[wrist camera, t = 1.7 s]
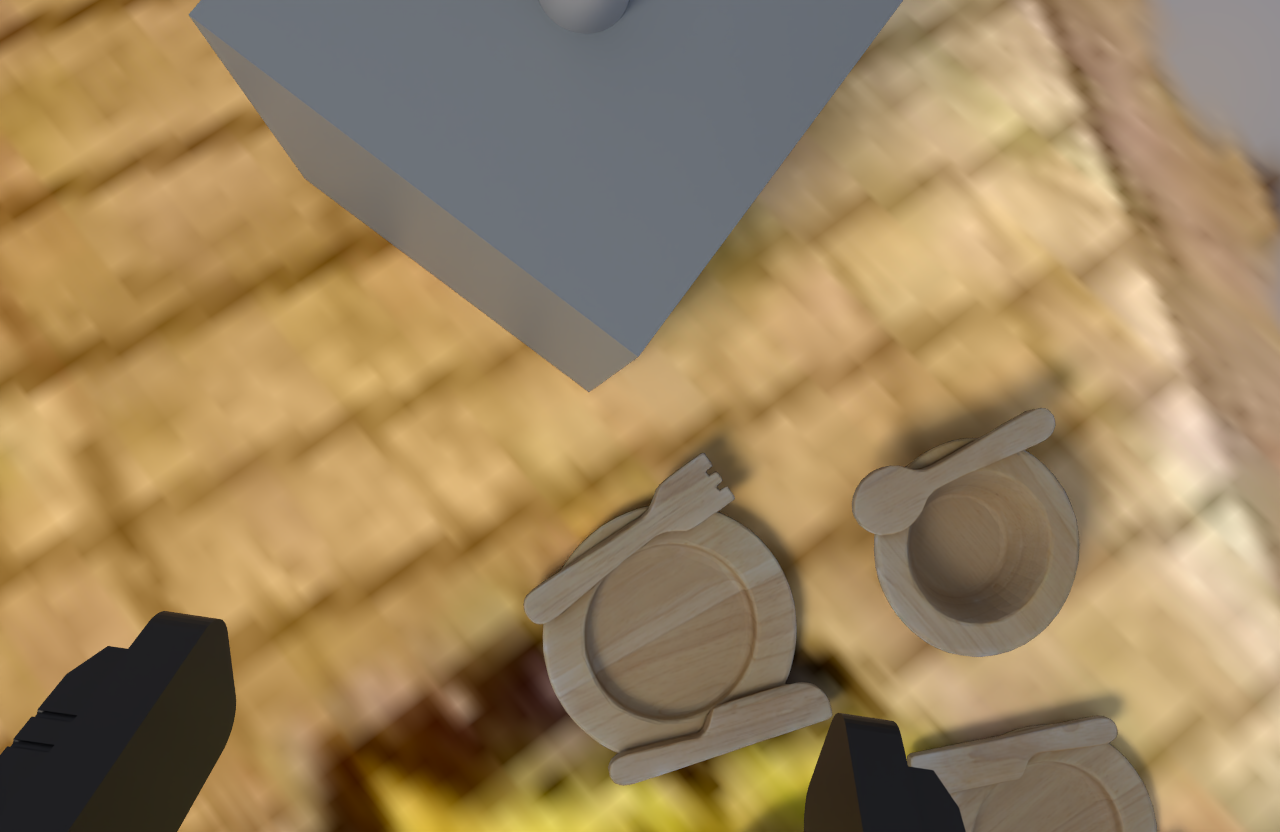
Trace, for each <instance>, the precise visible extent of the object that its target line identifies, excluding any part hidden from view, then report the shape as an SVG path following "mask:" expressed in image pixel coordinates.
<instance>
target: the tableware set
mask: <svg viewBox="0 0 1280 832" xmlns="http://www.w3.org/2000/svg"><path fill="white" fill-rule="evenodd" d="M1054 428H1055V419H1054V416H1053V414H1052V413H1051V412H1050V411H1049V410H1048V409H1046V408H1038V409H1033V410H1029V411H1025V412H1023V413H1022V414H1020V415H1018V416H1016V417H1014V418H1013V419H1011V420H1009V421H1007V422H1005V423H1004V424H1002V425H1000V426H999V427H997V428H995V429H994V430H992V431H990V432H989V433H987V434H985V435H984V436H982V437H980V438H966V439H958V440H953V441H950V442H947V443H943V444H941V445H939V446H937V447H934V448H932V449H930V450H929V451H927V452H925V453H924V454H922V455H920V456H919V457H917V458H916V459H915V460H914V461H913V462H911V463H910V464H909V465H908V466H906V467H903V466H887V467H881V468H879V469H876V470H874V471H872V472H871V473H869V474H868V475H867V476H866V477H865V478H863V479H862V480H861V482H860V484H859V485H858V487H857V488H856V490H855V493H854V495H853V499H852V512H853V515H854V517H855V519H856V521H857V522H858V524H859V525H860V526H861V527H863V528H864V529H865V530H867V531H869V532H871V533H874V556H875V566H876V571H877V575H878V579H879V582H880V585H881V587H882V590H883V592H884V594H885V596H886V598H887V600H888V602H889V604H890V605H891V607H892V609H893V610H894V611H895V613H896V614H897V616H898V617H899V618H900V619H901V620H902V621H903V623H904V624H905V625H906V626H907V627H908V628H909V629H910V630H911V631H912V632H914V633H915V634H916V635H917V636H919V637H920V638H921V639H922V640H924V641H925V642H927V643H929V644H931V645H932V646H934V647H936V648H938V649H940V650H943V651H946V652H948V653H953V654H958V655H963V656H972V657H983V656H991V655H997V654H1001V653H1005V652H1009V651H1011V650H1013V649H1015V648H1018V647H1020V646H1022V645H1024V644H1026V643H1027V642H1029V641H1030V640H1032V639H1033V638H1035V637H1036V636H1037V635H1038V634H1040V633H1041V632H1042V631H1043V630H1044V629H1045V628H1046V627H1047V626H1048V625H1049V624H1050V623H1051V622H1052V620H1053V619H1054V618H1055V617H1056V615H1057V614H1058V613H1059V611H1060V610H1061V608H1062V606H1063V604H1064V603H1065V601H1066V599H1067V597H1068V595H1069V592H1070V590H1071V587H1072V584H1073V581H1074V578H1075V574H1076V569H1077V565H1078V560H1079V532H1078V526H1077V520H1076V517H1075V514H1074V511H1073V508H1072V505H1071V503H1070V501H1069V499H1068V496H1067V494H1066V492H1065V490H1064V489H1063V487H1062V486H1061V485H1060V483H1059V482H1058V480H1057V479H1056V477H1055V476H1054V475H1053V474H1052V473H1051V472H1050V470H1049V469H1048V468H1047V467H1046V466H1045V465H1044V464H1043V463H1042V462H1040V461H1039V460H1038V459H1037V458H1036V457H1034V456H1033V455H1032V454H1030V453H1029V452H1027V451H1025V449H1027V448H1029V447H1032V446H1034V445H1036V444H1038V443H1040V442H1042V441H1044V440H1046V439H1047V438H1048V437H1049V436H1050V435H1051V434H1052V432H1053V431H1054ZM711 467H712V464H711V462H710V460H709V459H708V458H707V456H706V455H705V453H701V454H700V455H698V456H697V457H695V458H694V459H692V460H691V461H690V462H688V463H687V464H686V465H684V466H683V467H681V468H680V469H679V470H677V471H676V472H675V473H673V474H672V475H671V476H669V477H668V478H667V479H666V480H664V481H663V482H662V483H661V484H660V485H659V486H658V487H657V489H656V491H655V494H654V497H653V499H652V502H651V504H650V506H647V507H642V508H639V509H636V510H633V511H630V512H628V513H625V514H623V515H621V516H618V517H616V518H615V519H613V520H611V521H609V522H608V523H606V524H604V525H603V526H601V527H600V528H599V529H597V530H596V531H595V532H593V533H592V534H591V535H590V536H589V537H588V538H586V539H585V540H584V541H583V542H582V543H581V544H580V545H579V546H578V547H577V548H576V550H575V551H574V552H573V554H572V555H571V556H570V557H569V559H568V560H567V562H566V563H565V565H564V566H563V568H562V570H561V571H559V572H558V573H556V574H555V575H553V576H552V577H550V578H549V579H547V580H545V581H544V582H542V583H541V584H540V585H538V586H537V587H535V588H534V589H533V590H532V591H531V592H530V593H529V594H527V595H526V597H525V600H524V610H525V613H526V615H527V617H528V618H529V619H530V620H531V621H532V622H534V623H537V624H543V652H544V658H545V663H546V667H547V672H548V676H549V679H550V682H551V685H552V687H553V689H554V692H555V694H556V696H557V697H558V699H559V701H560V702H561V704H562V706H563V707H564V709H565V710H566V712H567V713H568V714H569V715H570V717H571V718H572V719H573V721H574V722H575V723H576V724H577V725H578V726H579V727H580V728H581V729H582V730H583V731H584V732H586V733H587V734H588V735H589V736H590V737H592V738H593V739H594V740H595V741H597V742H598V743H600V744H601V745H603V746H605V747H607V748H608V749H610V750H612V751H614V752H617V753H618V754H616V755H615V756H614V757H613V758H612V759H611V761H610V763H609V766H608V769H609V774H610V777H611V779H612V780H613V781H614V783H616V784H619V785H630V784H634V783H637V782H640V781H644V780H647V779H650V778H653V777H656V776H659V775H662V774H665V773H668V772H671V771H674V770H677V769H680V768H683V767H686V766H689V765H692V764H695V763H698V762H701V761H704V760H707V759H710V758H713V757H716V756H719V755H722V754H725V753H728V752H731V751H734V750H737V749H740V748H743V747H746V746H749V745H752V744H755V743H758V742H761V741H764V740H767V739H770V738H773V737H776V736H779V735H782V734H785V733H788V732H791V731H794V730H797V729H801V728H804V727H807V726H810V725H813V724H816V723H818V722H821V721H824V720H827V719H829V718H830V717H831V716H832V709H831V705H830V701H829V700H828V698H827V696H826V694H825V693H824V692H823V691H822V690H821V689H820V688H818V687H817V686H816V685H814V684H811V683H806V682H798V683H793V684H785V683H786V680H787V678H788V675H789V673H790V669H791V665H792V662H793V657H794V651H795V645H796V634H797V633H796V613H795V605H794V600H793V596H792V593H791V589H790V586H789V584H788V581H787V579H786V577H785V574H784V572H783V570H782V568H781V566H780V565H779V563H778V561H777V559H776V558H775V557H774V555H773V554H772V552H771V551H770V550H769V549H768V548H767V546H766V545H765V544H764V543H763V542H762V541H761V540H760V538H759V537H757V536H756V535H755V534H754V533H753V532H752V531H751V530H749V529H748V528H746V527H745V526H744V525H742V524H741V523H739V522H737V521H736V520H734V519H732V518H730V517H728V516H726V515H724V514H722V513H720V512H718V511H719V510H721V509H722V508H723V507H725V506H726V505H728V504H729V503H730V502H731V501H733V500H734V499H735V498H734V495H733V494H732V492H731V491H730V489H729V488H728V487H725V488H723V489H721V490H719V489H718V488H717V486H718V484H720V483H721V482H722V481H723V480H722V478H721V476H720V475H719V474H718V472H714V473H712V474H710V475H708V474H707V470H708V469H709V468H711ZM1116 737H1117V727H1116V725H1115V723H1114V722H1113V721H1112V720H1111V719H1109V718H1106V717H1104V716H1092V717H1087V718H1082V719H1077V720H1072V721H1067V722H1063V723H1058V724H1053V725H1037V726H1029V727H1024V728H1020V729H1017V730H1013V731H1011V732H1008V733H1006V734H1004V735H1002V736H996V737H991V738H986V739H981V740H976V741H971V742H965V743H960V744H955V745H950V746H945V747H940V748H935V749H930V750H924V751H919V752H914V753H910V754H909V755H908V756H907V762H908V766H909V767H916V768H923V769H929V770H934V772H935V773H936V775H937V776H938V778H939V779H940V780H941V782H942V783H943V785H944V786H945V788H946V789H947V791H948V792H949V794H950V795H951V797H952V798H953V800H954V801H955V802H956V804H957V805H958V807H959V809H960V813H961V816H962V820H963V823H964V827H965V831H966V832H1157V825H1156V819H1155V814H1154V810H1153V805H1152V802H1151V800H1150V797H1149V794H1148V792H1147V789H1146V787H1145V785H1144V783H1143V781H1142V780H1141V778H1140V776H1139V775H1138V773H1137V772H1136V770H1135V769H1134V767H1133V766H1132V765H1131V764H1130V762H1129V761H1128V760H1127V759H1126V758H1125V757H1124V756H1123V755H1122V754H1121V753H1120V752H1119V751H1118V750H1117V749H1116V748H1115V747H1114V746H1112V745H1111V744H1109V743H1110V742H1111V741H1113V740H1114V739H1115V738H1116Z"/></svg>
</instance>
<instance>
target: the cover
mask: <svg viewBox="0 0 1280 832" xmlns="http://www.w3.org/2000/svg"><path fill="white" fill-rule="evenodd" d="M902 1H903V0H201V1H200V2H199V3H198V4H197V6H196V7H195V8H194V9H193V10H192V11H191V12H190V14H189V16H190V18H191V19H192V20H193V22H194V23H195V25H196V26H197V27H198V29H199V30H200V32H201V33H202V35H203V36H204V37H205V39H206V40H207V42H208V43H209V44H210V46H211V47H212V49H213V50H214V51H215V53H216V54H217V56H218V57H219V58H220V60H221V61H222V63H223V64H224V65H225V67H226V68H227V70H228V71H229V73H230V74H231V75H232V77H233V78H234V80H235V81H236V82H237V84H238V85H239V87H240V88H241V89H242V91H243V92H244V94H245V95H246V96H247V98H248V99H249V101H250V102H251V103H252V105H253V106H254V108H255V109H256V111H257V112H258V113H259V115H260V116H261V118H262V119H263V120H264V122H265V123H266V125H267V126H268V127H269V129H270V130H271V132H272V133H273V134H274V136H275V137H276V139H277V140H278V142H279V143H280V144H281V146H282V147H283V149H284V150H285V151H286V153H287V154H288V156H289V157H290V158H291V160H292V161H293V163H294V164H295V165H296V167H297V168H298V170H299V171H300V172H301V174H302V175H303V177H304V178H305V179H306V180H307V181H309V182H310V183H311V184H313V185H314V186H315V187H317V188H318V189H319V190H321V191H322V192H323V193H325V194H326V195H327V196H329V197H330V198H331V199H333V200H334V201H335V202H337V203H338V204H339V205H341V206H342V207H343V208H345V209H346V210H347V211H349V212H350V213H351V214H353V215H354V216H355V217H357V218H358V219H359V220H361V221H362V222H363V223H365V224H366V225H367V226H369V227H370V228H371V229H373V230H374V231H375V232H377V233H378V234H379V235H381V236H382V237H383V238H385V239H386V240H387V241H389V242H390V243H391V244H393V245H394V246H395V247H397V248H398V249H399V250H401V251H402V252H403V253H405V254H406V255H407V256H409V257H410V258H411V259H413V260H414V261H415V262H417V263H418V264H419V265H421V266H422V267H423V268H425V269H426V270H427V271H429V272H430V273H431V274H432V275H434V276H435V277H436V278H438V279H439V280H440V281H442V282H443V283H444V284H446V285H447V286H448V287H450V288H451V289H452V290H454V291H455V292H456V293H458V294H459V295H460V296H462V297H463V298H464V299H466V300H467V301H468V302H470V303H471V304H472V305H474V306H475V307H476V308H478V309H479V310H480V311H482V312H483V313H484V314H486V315H487V316H488V317H490V318H491V319H492V320H494V321H495V322H496V323H498V324H499V325H500V326H502V327H503V328H504V329H506V330H507V331H508V332H510V333H511V334H512V335H514V336H515V337H516V338H518V339H519V340H520V341H522V342H523V343H524V344H526V345H527V346H528V347H530V348H531V349H532V350H534V351H535V352H536V353H538V354H539V355H540V356H542V357H543V358H544V359H546V360H547V361H548V362H550V363H551V364H552V365H554V366H555V367H556V368H558V369H559V370H560V371H562V372H563V373H564V374H566V375H567V376H568V377H570V378H571V379H572V380H573V381H575V382H576V383H577V384H579V385H580V386H581V387H583V388H584V389H585V390H587V391H588V392H590V391H591V390H593V389H594V388H596V387H597V386H598V385H600V384H601V383H603V382H604V381H605V380H607V379H608V378H610V377H611V376H612V375H614V374H615V373H617V372H618V371H619V370H621V369H622V368H624V367H625V366H626V365H628V364H629V363H631V362H632V361H633V360H635V359H636V358H637V357H639V355H640V354H641V352H642V351H643V350H644V348H645V347H646V346H647V344H648V343H649V342H650V340H651V339H652V338H653V336H654V335H655V334H656V332H657V331H658V330H659V328H660V327H661V326H662V324H663V323H664V322H665V320H666V319H667V317H668V316H669V315H670V313H671V312H672V311H673V309H674V308H675V307H676V305H677V304H678V303H679V301H680V300H681V299H682V297H683V296H684V295H685V293H686V292H687V291H688V289H689V288H690V287H691V285H692V284H693V282H694V281H695V280H696V278H697V277H698V276H699V274H700V273H701V272H702V270H703V269H704V268H705V266H706V265H707V264H708V262H709V261H710V260H711V258H712V257H713V256H714V254H715V253H716V252H717V250H718V249H719V247H720V246H721V245H722V243H723V242H724V241H725V239H726V238H727V237H728V235H729V234H730V233H731V231H732V230H733V229H734V227H735V226H736V225H737V223H738V222H739V221H740V219H741V218H742V217H743V215H744V214H745V212H746V211H747V210H748V208H749V207H750V206H751V204H752V203H753V202H754V200H755V199H756V198H757V196H758V195H759V194H760V192H761V191H762V190H763V188H764V187H765V186H766V184H767V183H768V181H769V180H770V179H771V177H772V176H773V175H774V173H775V172H776V171H777V169H778V168H779V167H780V165H781V164H782V163H783V161H784V160H785V159H786V157H787V156H788V155H789V153H790V152H791V151H792V149H793V148H794V146H795V145H796V144H797V142H798V141H799V140H800V138H801V137H802V136H803V134H804V133H805V132H806V130H807V129H808V128H809V126H810V125H811V124H812V122H813V121H814V120H815V118H816V117H817V116H818V114H819V113H820V111H821V110H822V109H823V107H824V106H825V105H826V103H827V102H828V101H829V99H830V98H831V97H832V95H833V94H834V93H835V91H836V90H837V89H838V87H839V86H840V85H841V83H842V82H843V81H844V79H845V78H846V76H847V75H848V74H849V72H850V71H851V70H852V68H853V67H854V66H855V64H856V63H857V62H858V60H859V59H860V58H861V56H862V55H863V54H864V52H865V51H866V50H867V48H868V47H869V46H870V44H871V43H872V41H873V40H874V39H875V37H876V36H877V35H878V33H879V32H880V31H881V29H882V28H883V27H884V25H885V24H886V23H887V21H888V20H889V19H890V17H891V16H892V15H893V13H894V12H895V11H896V9H897V8H898V6H899V5H900V4H901V2H902Z"/></svg>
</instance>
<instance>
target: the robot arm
mask: <svg viewBox="0 0 1280 832" xmlns="http://www.w3.org/2000/svg"><path fill="white" fill-rule="evenodd" d="M235 711H236V695H235V687H234V679H233V671H232V663H231V655H230V647H229V639H228V631H227V627H226V624H225V622H224V621H223V620H221V619H215V618H208V617H201V616H195V615H188V614H181V613H174V612H168V611H162V612H160V613H158V614H156V615H155V616H154V617H153V618H152V619H151V620H150V621H149V622H148V624H147V625H146V626H145V628H144V629H143V630H142V632H141V633H140V634H139V636H138V637H137V638H136V639H135V641H134V642H133V643H132V645H131V646H130V647H129V649H125V648H118V647H111V646H107V647H106V648H104V649H103V650H101V651H100V652H99V653H97V654H96V655H94V656H93V657H91V658H90V659H88V660H87V661H85V662H84V663H82V664H81V665H79V666H78V667H76V668H75V669H73V670H72V671H71V672H69V673H68V674H66V676H65V677H64V678H63V679H62V680H61V682H60V683H59V684H58V685H57V686H56V688H55V689H54V690H53V691H52V693H51V694H50V695H49V696H48V697H47V699H46V700H45V701H44V702H43V704H42V705H41V706H40V707H39V708H38V712H37V715H36V716H35V717H31V718H30V719H29V721H28V722H27V723H26V724H25V725H24V727H23V728H22V729H21V730H20V732H19V733H18V734H17V735H16V736H15V738H14V741H13V744H12V746H11V747H8V746H7V747H6V749H5V750H4V751H3V752H2V754H1V755H0V832H177V831H178V829H179V828H180V826H181V824H182V822H183V821H184V819H185V817H186V815H187V813H188V812H189V810H190V808H191V806H192V805H193V803H194V801H195V799H196V798H197V796H198V794H199V792H200V790H201V789H202V787H203V785H204V783H205V782H206V780H207V778H208V776H209V774H210V773H211V771H212V769H213V767H214V766H215V764H216V762H217V760H218V759H219V757H220V755H221V753H222V751H223V749H224V748H225V745H226V743H227V741H228V738H229V736H230V733H231V730H232V726H233V722H234V717H235ZM804 832H966V831H965V827H964V823H963V820H962V816H961V813H960V809H959V807H958V805H957V804H956V802H955V801H954V800H953V798H952V797H951V795H950V794H949V792H948V791H947V789H946V788H945V786H944V785H943V783H942V782H941V780H940V779H939V778H938V776H937V775H936V773H935V772H934V770H929V769H923V768H916V767H909V766H908V764H907V759H906V755H905V751H904V746H903V742H902V738H901V734H900V730H899V728H898V726H897V724H896V723H895V722H894V721H889V720H882V719H876V718H869V717H862V716H855V715H849V714H842V713H837V714H836V715H835V716H834V718H833V720H832V722H831V725H830V728H829V730H828V733H827V736H826V739H825V742H824V745H823V747H822V750H821V753H820V756H819V759H818V761H817V764H816V767H815V770H814V773H813V776H812V778H811V781H810V784H809V787H808V791H807V796H806V803H805V813H804Z"/></svg>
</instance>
